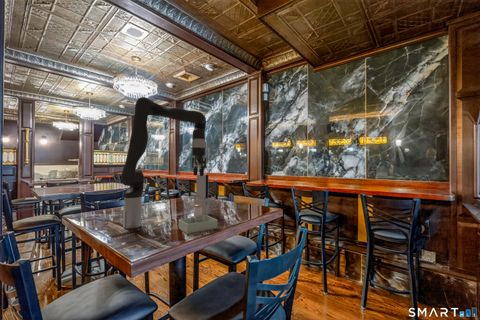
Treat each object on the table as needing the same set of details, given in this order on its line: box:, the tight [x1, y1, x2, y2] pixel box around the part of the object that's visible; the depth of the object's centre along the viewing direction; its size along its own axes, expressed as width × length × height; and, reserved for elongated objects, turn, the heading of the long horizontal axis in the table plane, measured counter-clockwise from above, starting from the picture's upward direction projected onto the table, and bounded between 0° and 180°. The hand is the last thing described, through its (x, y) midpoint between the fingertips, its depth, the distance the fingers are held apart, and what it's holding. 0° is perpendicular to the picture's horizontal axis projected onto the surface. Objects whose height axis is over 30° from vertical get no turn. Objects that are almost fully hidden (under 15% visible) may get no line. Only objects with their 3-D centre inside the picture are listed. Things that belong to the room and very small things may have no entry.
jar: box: [193, 204, 203, 218], centre depth 124 cm, size 5×5×7 cm
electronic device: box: [194, 173, 210, 216], centre depth 157 cm, size 12×8×30 cm, turn 168°
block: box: [190, 215, 205, 224], centre depth 124 cm, size 6×6×6 cm
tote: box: [178, 215, 219, 235], centre depth 124 cm, size 18×13×5 cm
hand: (198, 175), depth 125 cm, fingers open, 8 cm apart
